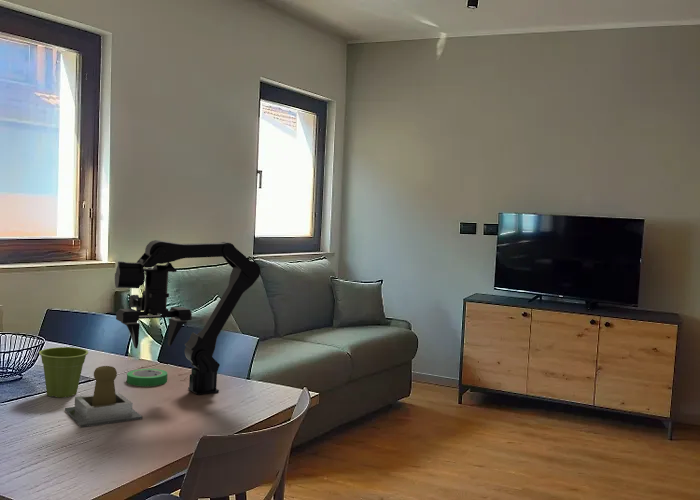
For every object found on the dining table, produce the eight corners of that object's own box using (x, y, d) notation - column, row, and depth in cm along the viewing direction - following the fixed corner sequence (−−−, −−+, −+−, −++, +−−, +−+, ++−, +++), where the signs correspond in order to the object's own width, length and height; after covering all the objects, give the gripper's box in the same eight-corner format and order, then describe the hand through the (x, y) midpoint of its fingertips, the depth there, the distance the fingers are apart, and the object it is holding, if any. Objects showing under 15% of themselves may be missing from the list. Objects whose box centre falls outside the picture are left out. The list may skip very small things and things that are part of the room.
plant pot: (56, 403, 173) (58, 359, 172) (27, 394, 179) (29, 351, 178) (96, 394, 183) (98, 352, 182) (67, 385, 189) (69, 344, 188)
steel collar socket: (122, 403, 176) (123, 389, 176) (142, 418, 165) (142, 404, 165) (64, 410, 168) (65, 395, 168) (81, 427, 157) (81, 411, 157)
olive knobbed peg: (100, 417, 162) (101, 371, 162) (85, 411, 166) (86, 366, 165) (122, 412, 167) (124, 367, 167) (107, 406, 171) (109, 362, 170)
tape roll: (119, 381, 198) (119, 371, 198) (152, 375, 206) (153, 366, 206) (140, 389, 191) (141, 380, 191) (174, 383, 199) (175, 374, 199)
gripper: (176, 284, 195) (173, 339, 196) (110, 284, 183) (107, 343, 184) (194, 289, 186) (190, 347, 187) (125, 290, 175) (122, 351, 176)
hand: (152, 347), depth 184 cm, fingers open, 9 cm apart
